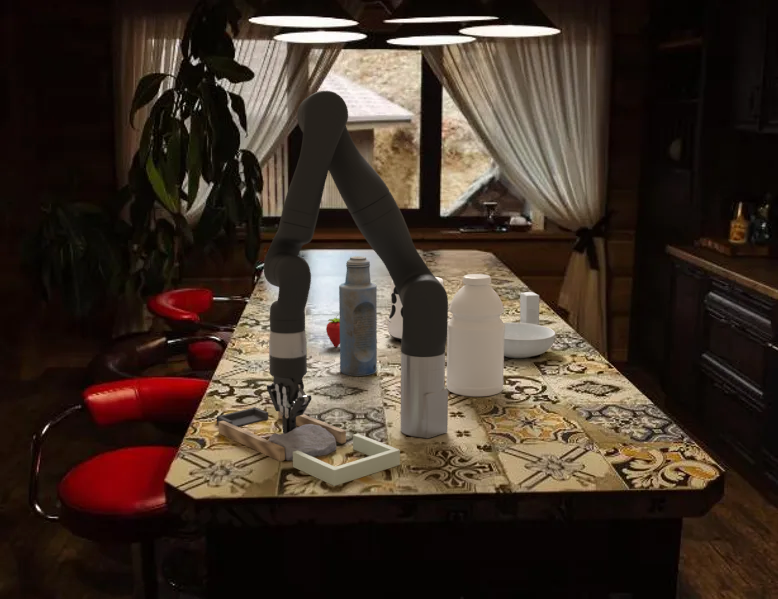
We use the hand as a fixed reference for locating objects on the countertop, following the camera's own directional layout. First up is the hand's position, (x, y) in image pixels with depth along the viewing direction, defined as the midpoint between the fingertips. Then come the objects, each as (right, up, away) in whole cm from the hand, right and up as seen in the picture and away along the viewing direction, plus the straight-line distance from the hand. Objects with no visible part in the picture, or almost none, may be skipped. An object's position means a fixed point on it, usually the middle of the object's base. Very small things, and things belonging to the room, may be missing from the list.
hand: (289, 433), depth 197 cm
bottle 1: (+13, +9, +53) cm, 55 cm away
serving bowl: (+56, +12, +71) cm, 92 cm away
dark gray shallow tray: (-11, +1, +13) cm, 17 cm away
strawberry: (+5, +14, +78) cm, 80 cm away
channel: (-2, -1, +2) cm, 3 cm away
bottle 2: (+41, +5, +37) cm, 56 cm away
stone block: (+4, -3, -5) cm, 7 cm away
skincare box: (+63, +17, +97) cm, 117 cm away
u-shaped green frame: (+12, -4, -13) cm, 18 cm away
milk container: (+29, +16, +88) cm, 94 cm away
